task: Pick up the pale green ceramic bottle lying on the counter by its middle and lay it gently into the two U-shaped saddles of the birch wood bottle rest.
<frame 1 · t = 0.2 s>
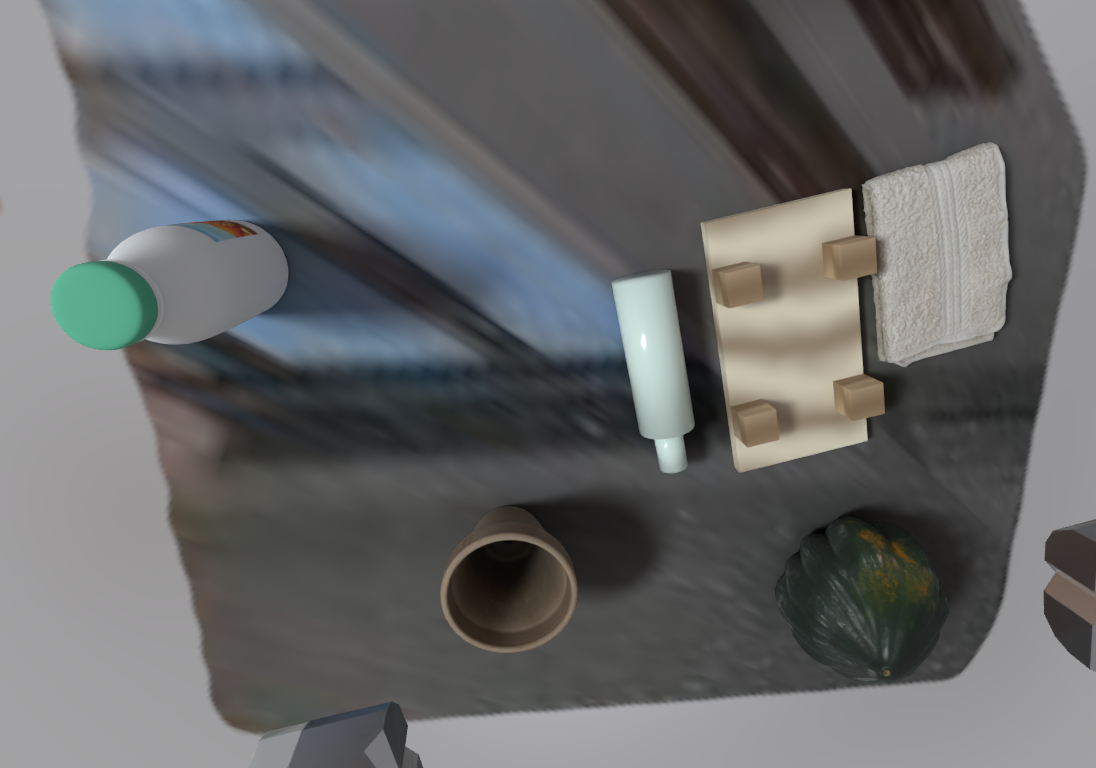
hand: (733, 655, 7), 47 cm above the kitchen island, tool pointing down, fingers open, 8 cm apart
squash: (826, 563, 65), on the kitchen island
milk bottle: (243, 267, 50), on the kitchen island
flower pot: (505, 533, 60), on the kitchen island
bottle rest: (785, 336, 57), on the kitchen island
ceramic bottle: (647, 348, 56), on the kitchen island
washcloth: (923, 259, 57), on the kitchen island
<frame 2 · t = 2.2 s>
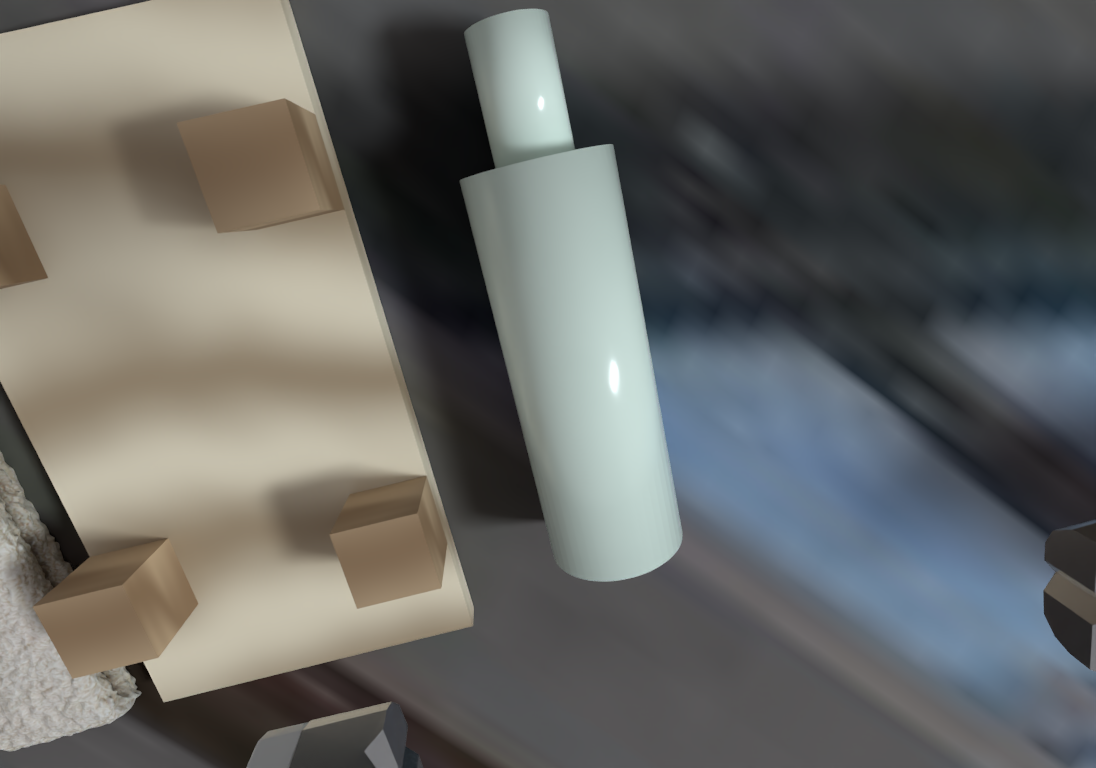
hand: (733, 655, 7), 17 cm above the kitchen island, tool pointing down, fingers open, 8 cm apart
bottle rest: (223, 384, 23), on the kitchen island
ceramic bottle: (571, 353, 24), on the kitchen island
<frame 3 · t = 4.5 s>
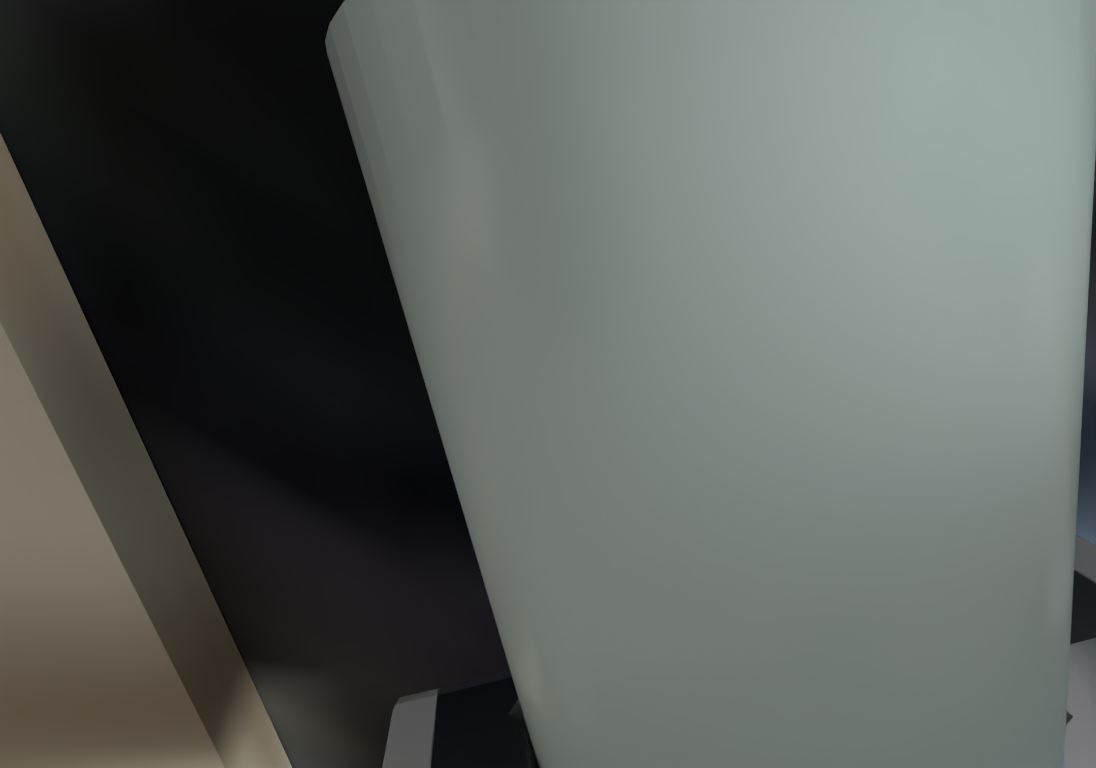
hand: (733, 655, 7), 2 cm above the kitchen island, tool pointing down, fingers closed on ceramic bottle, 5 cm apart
ceramic bottle: (690, 575, 9), on the kitchen island, touching gripper
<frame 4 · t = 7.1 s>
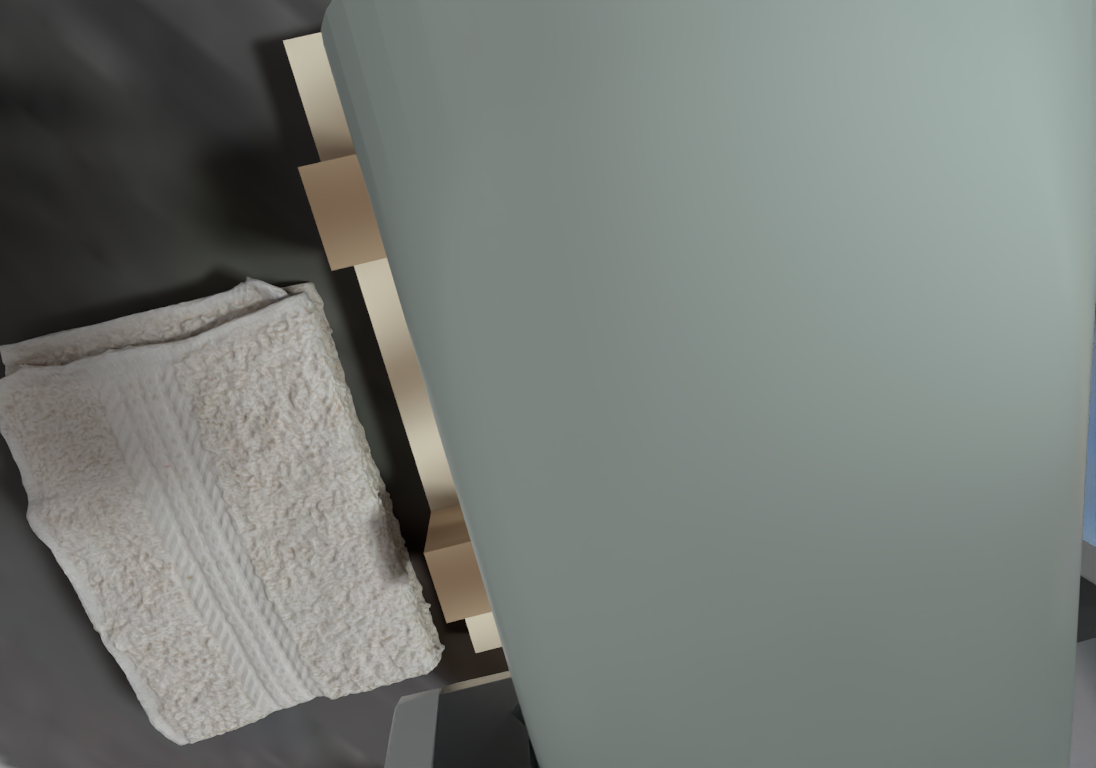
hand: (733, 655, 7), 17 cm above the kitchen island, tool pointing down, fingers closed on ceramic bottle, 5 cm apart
bottle rest: (560, 346, 24), on the kitchen island
ceramic bottle: (689, 574, 9), point 16 cm above the kitchen island, touching gripper
washcloth: (255, 506, 25), on the kitchen island
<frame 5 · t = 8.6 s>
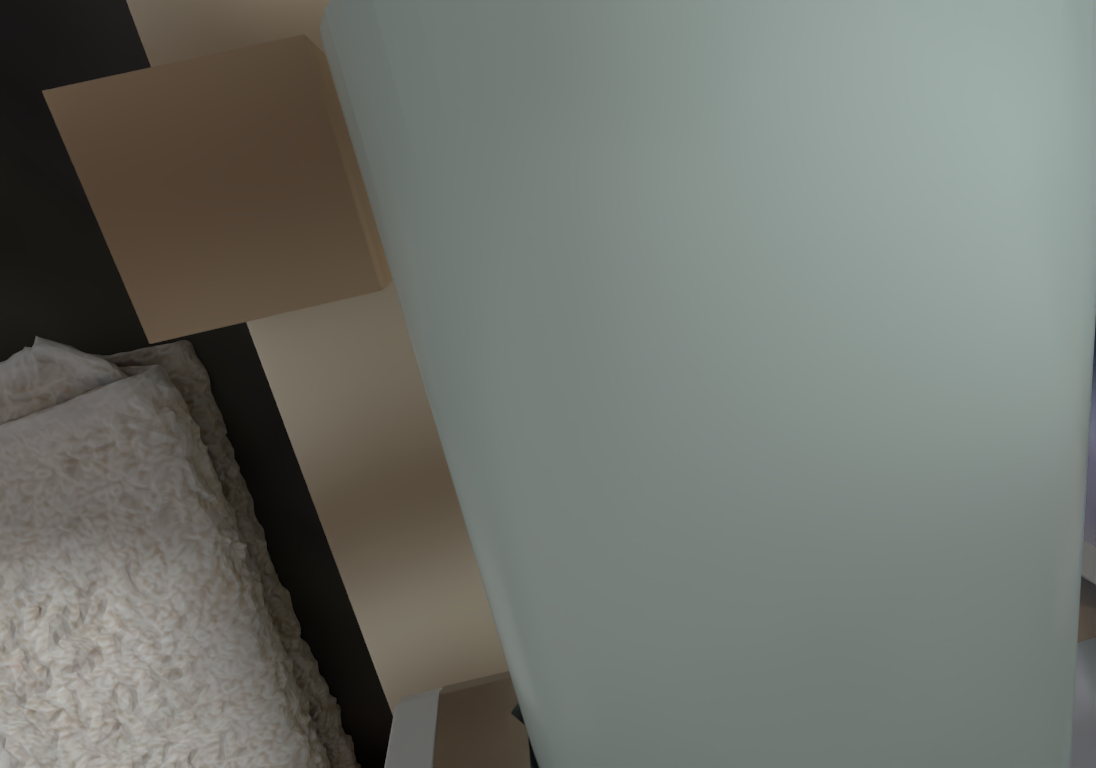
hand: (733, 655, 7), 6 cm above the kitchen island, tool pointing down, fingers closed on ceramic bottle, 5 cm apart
bottle rest: (634, 450, 13), on the kitchen island
ceramic bottle: (689, 575, 9), point 5 cm above the kitchen island, touching gripper
washcloth: (105, 708, 15), on the kitchen island
when the fingers open (5 cm above the kitchen island, at t = 9.7 s): ceramic bottle drops 2 cm, resting on bottle rest.
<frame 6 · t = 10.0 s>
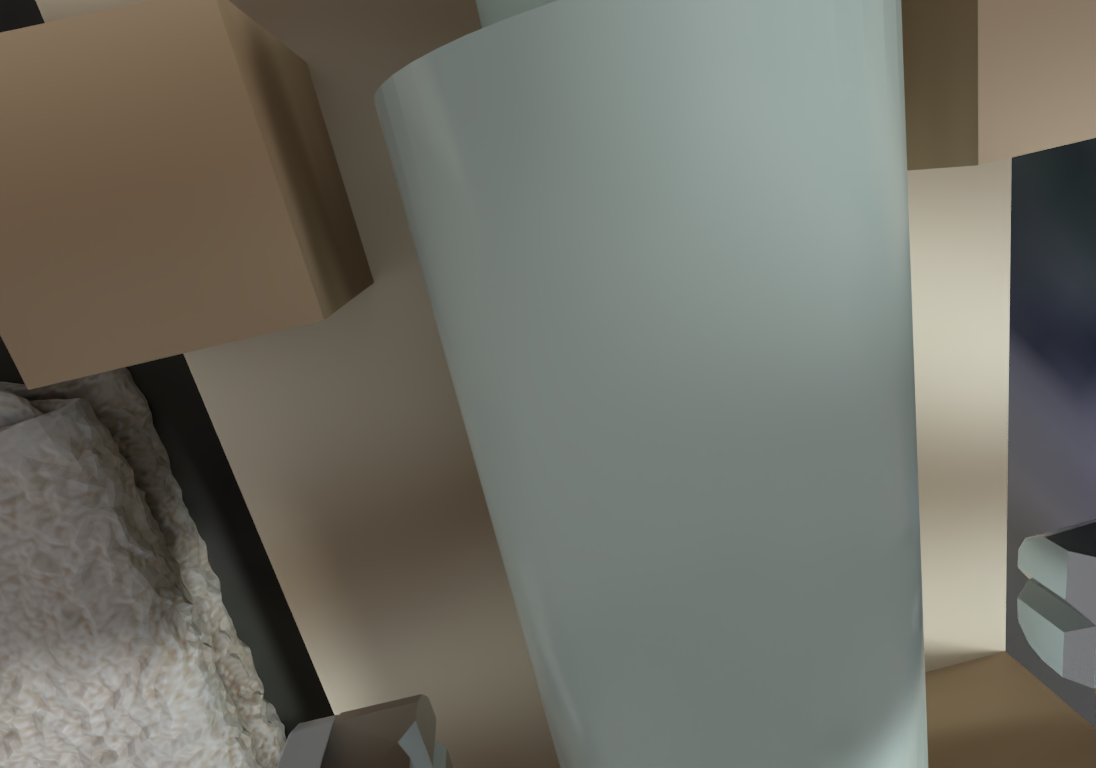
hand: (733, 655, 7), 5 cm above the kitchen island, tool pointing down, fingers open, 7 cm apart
bottle rest: (639, 486, 12), on the kitchen island
ceramic bottle: (659, 521, 11), point 1 cm above the kitchen island, touching bottle rest
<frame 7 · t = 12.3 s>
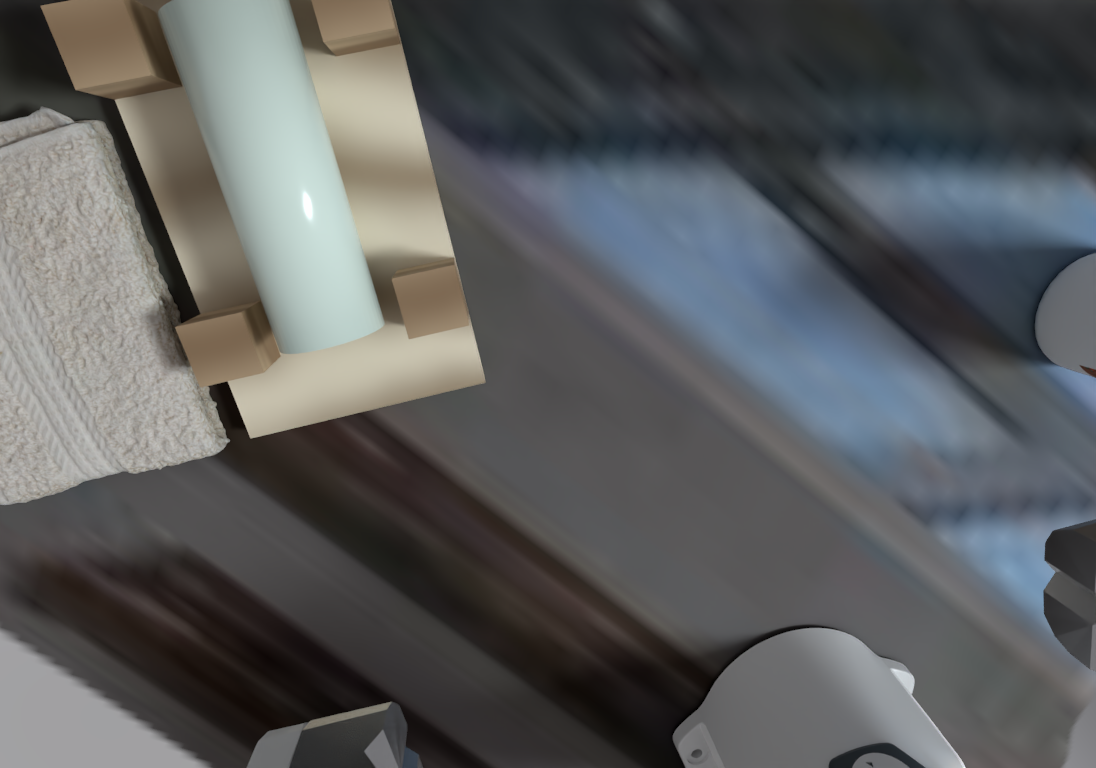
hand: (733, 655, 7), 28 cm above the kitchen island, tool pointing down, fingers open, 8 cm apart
milk bottle: (1080, 309, 40), on the kitchen island
bottle rest: (302, 184, 31), on the kitchen island
ceramic bottle: (298, 186, 30), point 1 cm above the kitchen island, touching bottle rest
washcloth: (66, 312, 32), on the kitchen island
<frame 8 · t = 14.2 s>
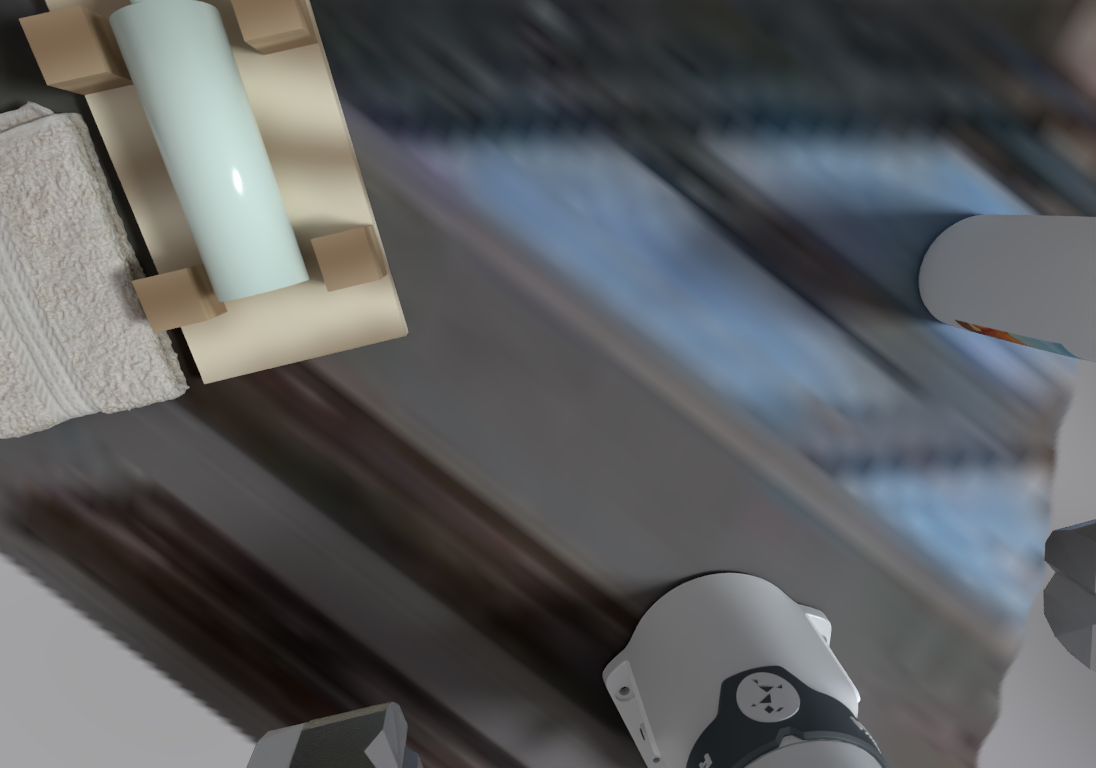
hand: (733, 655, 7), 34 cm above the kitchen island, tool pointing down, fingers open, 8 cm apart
milk bottle: (964, 270, 43), on the kitchen island
bottle rest: (243, 164, 36), on the kitchen island
ceramic bottle: (237, 165, 35), point 1 cm above the kitchen island, touching bottle rest
washcloth: (53, 276, 38), on the kitchen island
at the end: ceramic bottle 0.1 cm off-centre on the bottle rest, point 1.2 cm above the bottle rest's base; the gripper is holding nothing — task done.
